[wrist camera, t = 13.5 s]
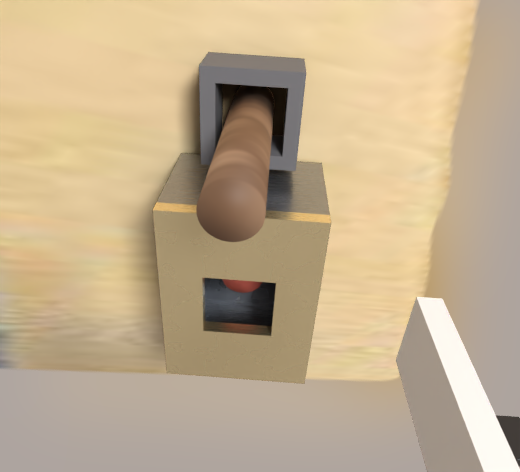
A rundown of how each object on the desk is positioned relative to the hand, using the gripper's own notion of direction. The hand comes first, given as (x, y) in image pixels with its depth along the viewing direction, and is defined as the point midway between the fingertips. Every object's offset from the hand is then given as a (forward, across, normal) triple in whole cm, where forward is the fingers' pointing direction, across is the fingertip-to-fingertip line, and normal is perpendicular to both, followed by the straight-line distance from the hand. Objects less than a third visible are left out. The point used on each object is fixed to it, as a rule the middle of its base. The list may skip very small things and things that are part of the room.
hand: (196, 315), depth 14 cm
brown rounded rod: (+23, +1, 0) cm, 23 cm away
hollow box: (+22, +1, -12) cm, 26 cm away
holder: (+22, +1, 0) cm, 23 cm away
